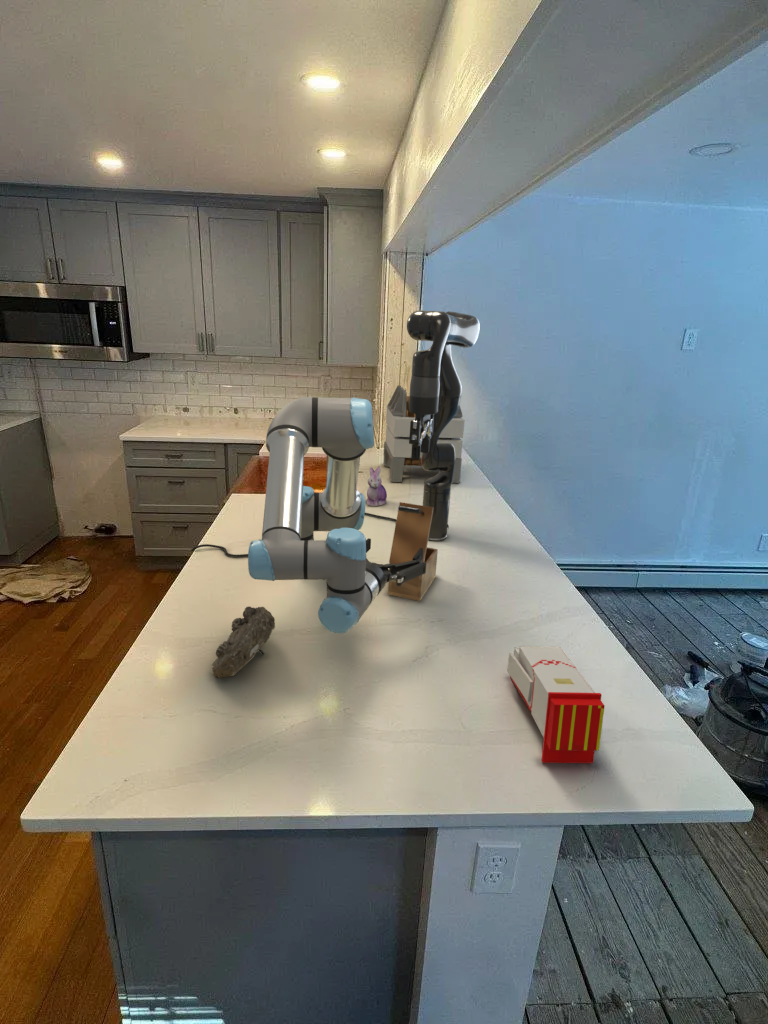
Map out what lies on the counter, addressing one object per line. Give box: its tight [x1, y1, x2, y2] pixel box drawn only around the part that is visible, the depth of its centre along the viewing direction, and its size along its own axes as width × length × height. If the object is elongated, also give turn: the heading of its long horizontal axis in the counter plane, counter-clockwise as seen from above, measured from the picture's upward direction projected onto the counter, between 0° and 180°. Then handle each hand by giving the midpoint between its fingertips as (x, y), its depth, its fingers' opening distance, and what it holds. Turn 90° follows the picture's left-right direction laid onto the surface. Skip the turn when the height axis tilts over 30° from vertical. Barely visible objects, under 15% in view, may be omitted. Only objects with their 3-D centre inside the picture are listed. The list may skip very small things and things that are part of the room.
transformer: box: [383, 384, 465, 484], centre depth 268 cm, size 34×33×41 cm
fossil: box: [211, 606, 276, 679], centre depth 126 cm, size 22×10×15 cm
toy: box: [506, 645, 605, 764], centre depth 112 cm, size 12×13×30 cm
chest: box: [387, 546, 438, 602], centre depth 162 cm, size 16×9×9 cm, turn 160°
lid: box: [388, 501, 434, 564], centre depth 150 cm, size 17×9×8 cm
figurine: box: [365, 466, 388, 507], centre depth 227 cm, size 9×10×15 cm
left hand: (395, 548), depth 140 cm, fingers open, 13 cm apart
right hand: (420, 456), depth 149 cm, fingers open, 8 cm apart
